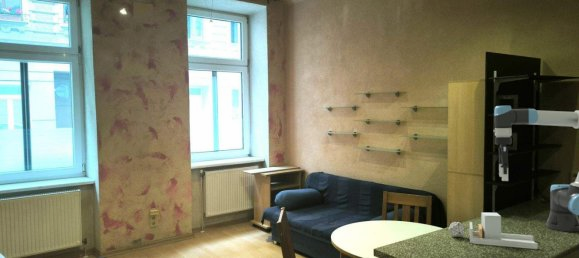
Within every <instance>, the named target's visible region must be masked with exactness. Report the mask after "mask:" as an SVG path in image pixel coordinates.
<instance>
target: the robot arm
mask: <svg viewBox="0 0 579 258" xmlns="http://www.w3.org/2000/svg"><path fill="white" fill-rule="evenodd" d="M493 117H494V129H493V133H494V136H495V137H494V145H498V171H499V172H498V175H499V177H500V178H501V181H502V182H509V166H510V165H509V149H508V147H507V145H508V146H509V145H512V142H513V141H512V125H538V126H555V127H556V126H557V127H572V128H574V129H578V130H579V109H578V110H574V111H563V110H562V111H561V110H559V111H556V110H536V109H535V108H517V109H514V108H512V106H511V105H496V106H495V107H494V113H493ZM549 192H550V195H549V196H550V211H549V216H548V218H547V220H546V227H547V228H548V229H552V230H554V231H560V232H569V233H570V232H571V233H572V232H579V217H578V216H579V171H578V172H577V176H576V178H575V180H574V182H571V183H570V184H551V186H550V191H549Z"/></svg>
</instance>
